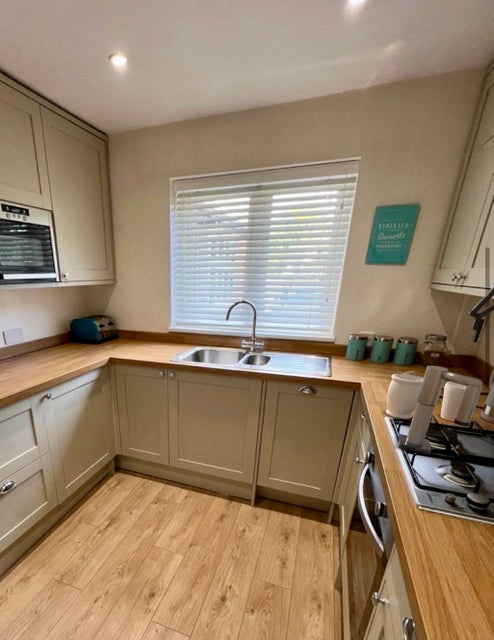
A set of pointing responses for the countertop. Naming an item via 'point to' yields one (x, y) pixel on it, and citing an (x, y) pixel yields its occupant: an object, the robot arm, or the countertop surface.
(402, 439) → the tap base
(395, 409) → the jar
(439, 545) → the countertop surface
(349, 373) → the countertop surface
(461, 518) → the countertop surface
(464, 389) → the foam cup
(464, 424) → the spout
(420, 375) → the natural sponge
